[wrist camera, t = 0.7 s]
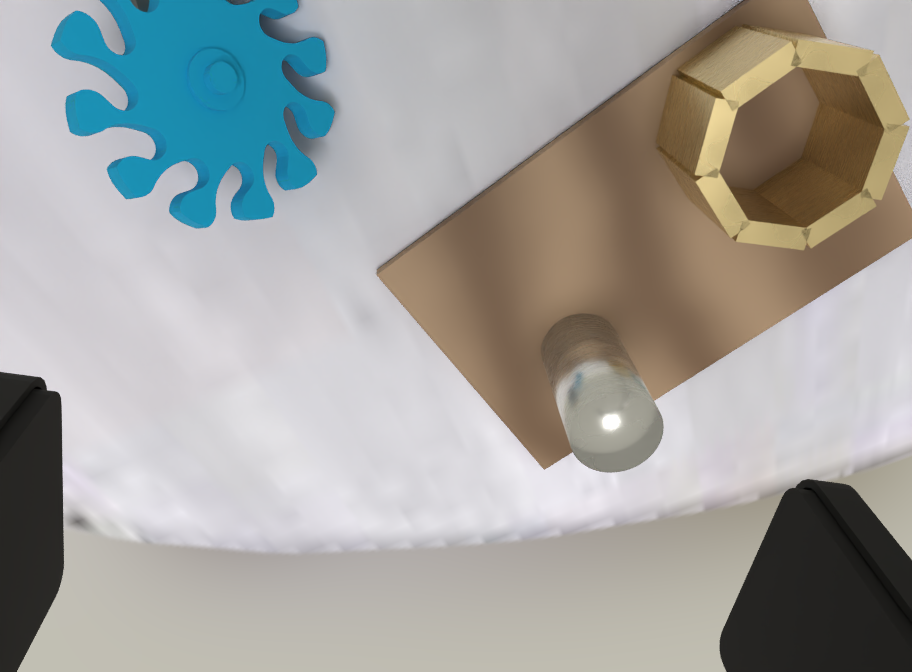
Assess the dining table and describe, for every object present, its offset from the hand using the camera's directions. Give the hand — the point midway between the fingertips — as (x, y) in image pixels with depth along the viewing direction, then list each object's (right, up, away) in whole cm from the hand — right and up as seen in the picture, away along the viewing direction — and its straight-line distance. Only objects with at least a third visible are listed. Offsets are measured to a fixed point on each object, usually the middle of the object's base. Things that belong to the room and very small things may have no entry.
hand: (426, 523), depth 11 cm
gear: (-9, +13, +21) cm, 27 cm away
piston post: (+6, +2, +27) cm, 28 cm away
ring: (+12, +11, +23) cm, 28 cm away
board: (+9, +6, +25) cm, 28 cm away
